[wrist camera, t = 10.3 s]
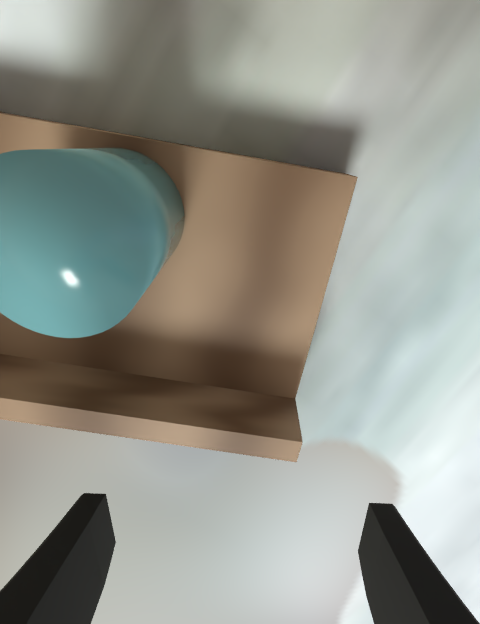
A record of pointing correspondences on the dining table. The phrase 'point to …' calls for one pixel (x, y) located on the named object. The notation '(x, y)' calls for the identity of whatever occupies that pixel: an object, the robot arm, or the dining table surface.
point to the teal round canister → (82, 236)
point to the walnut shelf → (193, 308)
